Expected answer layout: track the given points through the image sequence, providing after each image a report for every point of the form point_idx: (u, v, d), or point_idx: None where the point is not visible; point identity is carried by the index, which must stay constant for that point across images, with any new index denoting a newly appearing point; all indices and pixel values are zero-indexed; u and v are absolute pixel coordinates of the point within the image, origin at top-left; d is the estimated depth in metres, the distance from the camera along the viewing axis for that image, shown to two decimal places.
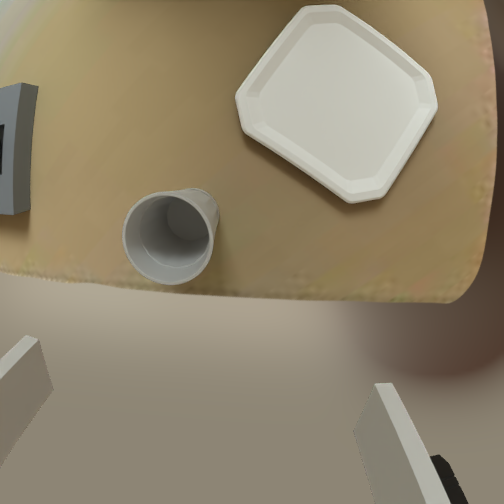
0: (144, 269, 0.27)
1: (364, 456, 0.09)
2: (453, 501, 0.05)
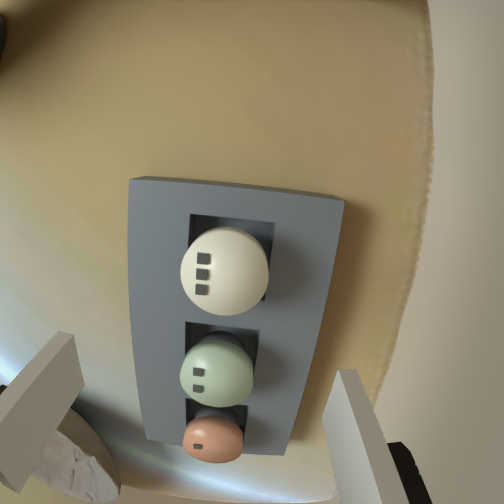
0: None
1: (329, 441, 0.10)
2: (412, 489, 0.06)
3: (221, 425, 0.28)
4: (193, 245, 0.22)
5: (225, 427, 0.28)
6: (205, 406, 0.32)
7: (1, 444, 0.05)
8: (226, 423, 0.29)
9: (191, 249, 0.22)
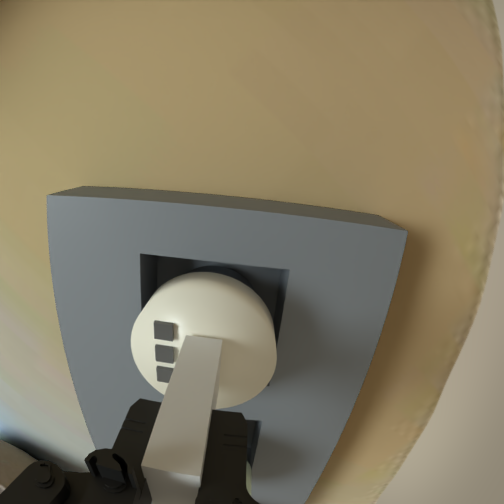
0: None
1: None
2: (229, 460, 0.07)
3: None
4: (146, 309, 0.12)
5: None
6: None
7: None
8: None
9: (144, 315, 0.12)
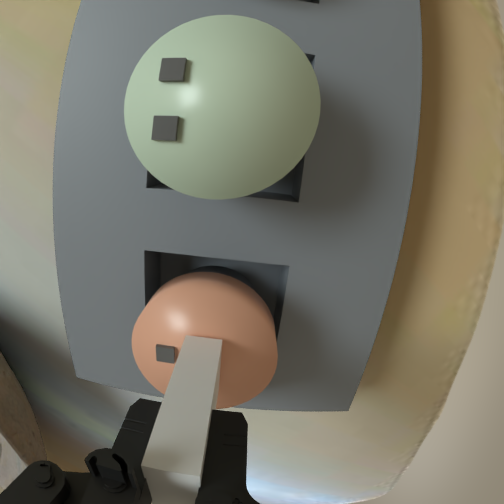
0: None
1: None
2: (229, 460, 0.07)
3: (226, 286, 0.13)
4: None
5: (236, 291, 0.13)
6: (192, 271, 0.16)
7: None
8: (239, 285, 0.13)
9: None
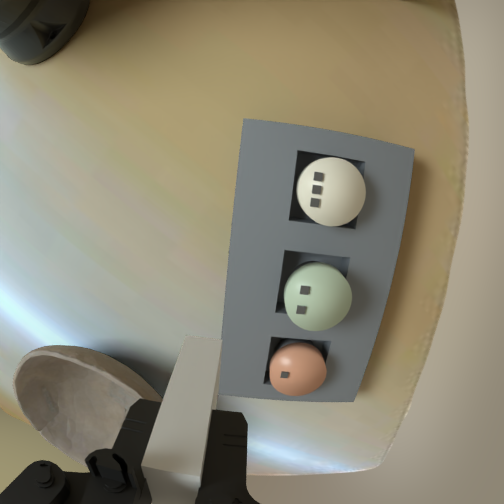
0: None
1: None
2: (229, 460, 0.07)
3: (309, 348, 0.33)
4: (311, 166, 0.27)
5: (313, 350, 0.33)
6: (287, 338, 0.37)
7: None
8: (312, 347, 0.34)
9: (309, 169, 0.27)
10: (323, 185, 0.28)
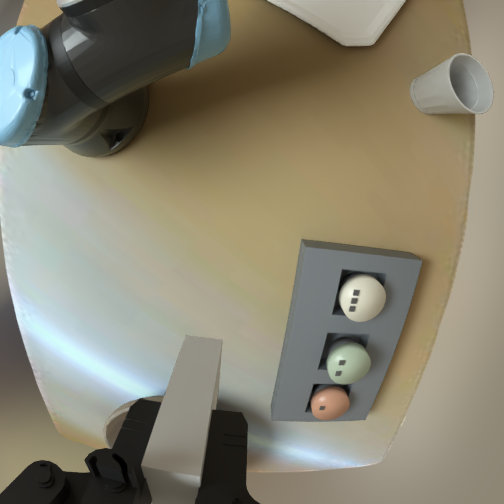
0: (486, 105, 0.27)
1: None
2: (229, 460, 0.07)
3: (339, 390, 0.46)
4: (352, 286, 0.40)
5: (341, 391, 0.46)
6: None
7: None
8: (341, 389, 0.47)
9: (351, 288, 0.40)
10: (358, 297, 0.40)
